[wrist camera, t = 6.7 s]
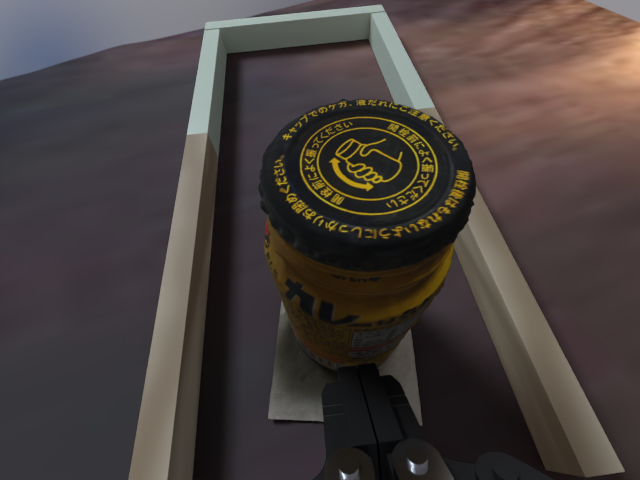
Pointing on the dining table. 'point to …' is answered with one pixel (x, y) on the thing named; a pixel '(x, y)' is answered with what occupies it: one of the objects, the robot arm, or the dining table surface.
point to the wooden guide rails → (488, 289)
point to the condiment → (357, 241)
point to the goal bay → (299, 33)
